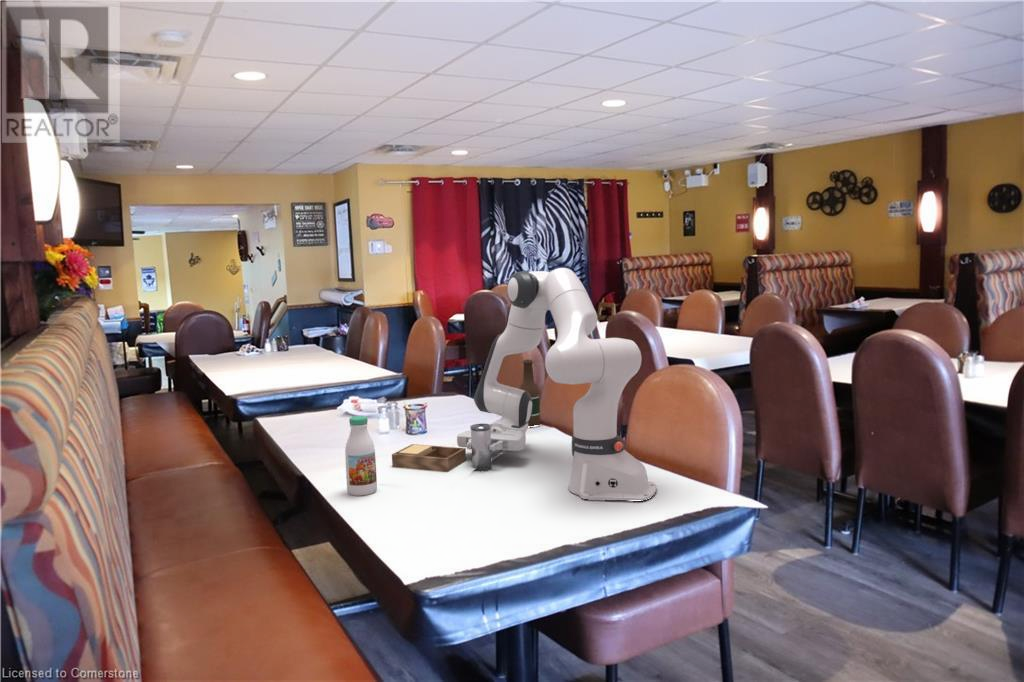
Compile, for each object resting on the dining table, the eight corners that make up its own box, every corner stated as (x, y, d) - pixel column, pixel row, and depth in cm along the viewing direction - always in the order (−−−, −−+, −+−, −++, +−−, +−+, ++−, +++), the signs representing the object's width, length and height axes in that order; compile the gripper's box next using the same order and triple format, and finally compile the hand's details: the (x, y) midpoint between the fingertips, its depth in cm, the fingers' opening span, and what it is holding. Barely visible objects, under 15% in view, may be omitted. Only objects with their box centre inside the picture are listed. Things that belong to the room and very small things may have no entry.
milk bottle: (341, 494, 187) (336, 419, 185) (360, 485, 194) (356, 413, 191) (364, 498, 183) (360, 421, 181) (383, 489, 190) (379, 415, 188)
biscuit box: (432, 459, 215) (431, 446, 214) (417, 467, 206) (416, 453, 206) (414, 457, 217) (414, 444, 217) (399, 465, 209) (398, 452, 208)
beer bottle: (516, 428, 255) (514, 361, 252) (522, 423, 262) (520, 358, 259) (537, 428, 252) (535, 361, 250) (542, 423, 260) (541, 358, 257)
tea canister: (495, 466, 208) (493, 424, 206) (487, 472, 202) (485, 429, 201) (477, 465, 210) (475, 423, 208) (468, 470, 204) (467, 427, 203)
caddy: (466, 463, 212) (465, 448, 212) (447, 474, 201) (447, 459, 201) (413, 458, 219) (412, 444, 218) (392, 469, 208) (391, 454, 207)
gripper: (467, 423, 221) (447, 434, 208) (529, 427, 213) (512, 438, 200) (468, 443, 221) (448, 455, 209) (530, 448, 214) (513, 460, 201)
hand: (480, 447), depth 204 cm, fingers closed on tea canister, 6 cm apart
